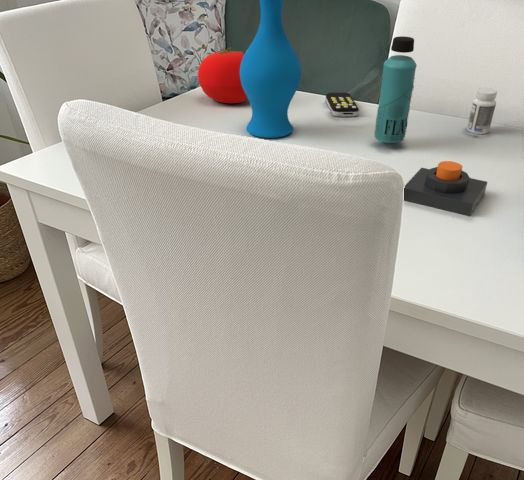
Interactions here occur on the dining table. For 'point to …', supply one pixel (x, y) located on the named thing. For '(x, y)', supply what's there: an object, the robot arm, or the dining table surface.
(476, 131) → the pill bottle
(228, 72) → the tomato
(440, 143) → the dining table surface
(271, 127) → the vase
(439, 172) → the button
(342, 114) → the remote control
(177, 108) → the dining table surface
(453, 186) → the dark grey mounting base
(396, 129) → the beverage bottle
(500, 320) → the dining table surface
